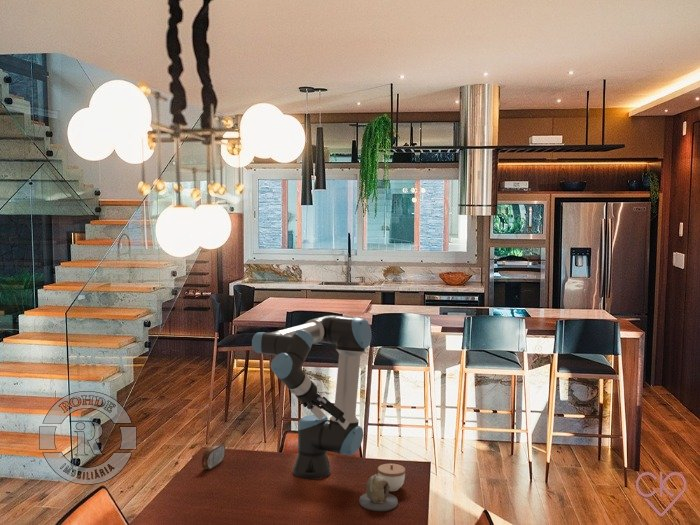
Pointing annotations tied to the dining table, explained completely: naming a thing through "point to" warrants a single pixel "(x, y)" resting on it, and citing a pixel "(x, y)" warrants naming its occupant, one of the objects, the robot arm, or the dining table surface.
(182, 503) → the dining table surface
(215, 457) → the tin
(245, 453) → the dining table surface
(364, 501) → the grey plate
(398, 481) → the lidded jar
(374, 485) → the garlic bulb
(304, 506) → the dining table surface
